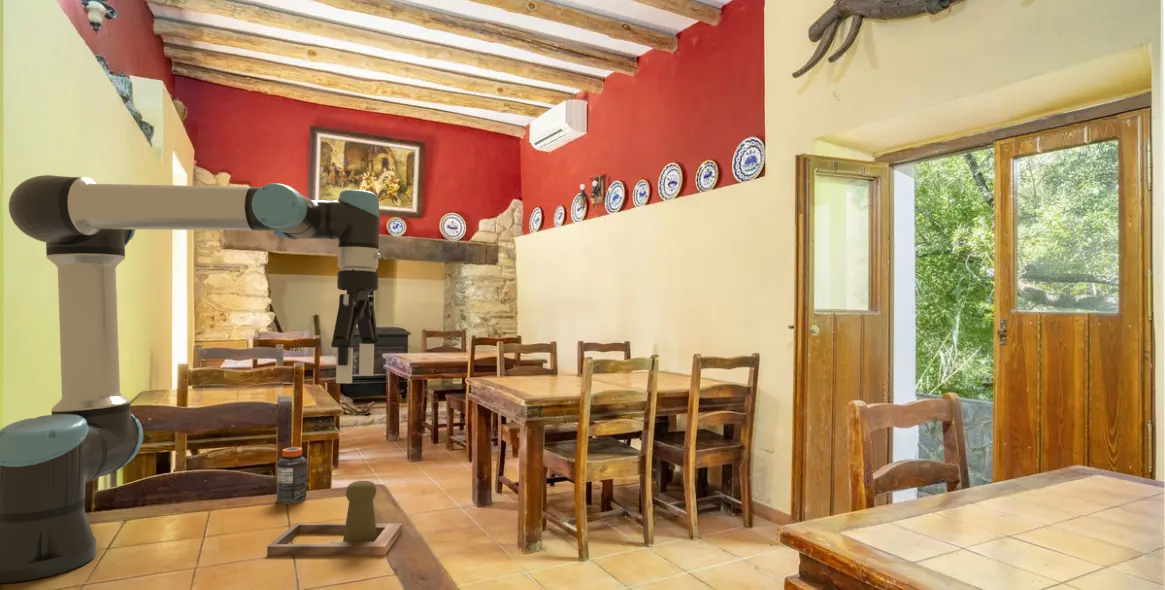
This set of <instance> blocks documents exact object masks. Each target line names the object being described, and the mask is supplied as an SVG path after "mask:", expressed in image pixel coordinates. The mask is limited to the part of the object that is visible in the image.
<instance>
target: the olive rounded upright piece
mask: <svg viewBox="0 0 1165 590" xmlns="http://www.w3.org/2000/svg"><path fill="white" fill-rule="evenodd" d="M345 495H346V499H347V500H348V505H347V506H348V507H347V512H346V513H347V514H346V520H345V523H346V525H345V532H344V533H343V540H342V542H374V541H375V540H376V539H377V538H378V535H377V532H376V517H375V508H374V499H375V497H376V495H377V486H376V484H375V483H374V481H371V480H356V481H354V482H351V483H349V484H348V485H347V487H346V491H345Z"/></svg>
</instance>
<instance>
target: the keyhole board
mask: <svg viewBox="0 0 1165 590" xmlns="http://www.w3.org/2000/svg"><path fill="white" fill-rule="evenodd" d="M375 523H376V522H375ZM345 525H346V522H344V523H342V522H341V523H340V522H339V523H336V522H334V523H333V522H332V523H331V522H330V523H329V522H327V523H326V522H325V523H324V522H316V523H315V522H313V523H311V522H306V523H305V522H296V523H294V524H292V526H291V527H289V528H288V529H287V530H285V531H284V532H283V533H282V534H281V535H280V536H278V537H277V538H276V539H275V540H273V541H272V542H271V543H269V545H267V546H266V548H267V550H266V556H386V554H387V553H388V551H389V550H390V549H391V547H392V546H393V544H394V543H395V542H396V540H397V539H398V538H399V536H400V535H401V534H402V532H403V523H401V522H400V523H399V522H398V523H394V522H393V523H390V522H389V523H387V522H386V523H385V522H383V523H381V522H379V523H376V532H377V539H376V540H375V541H374V542H343V541H330V542H329V543H327V544H326V543H325V544H321V543H317V544H313V543H310V544H306V543H303V544H302V543H299V544H298V543H297V544H293V543H290V544H288V543H289V542H290V541H292V540H293V539H294V538H295V537H297V536H298V535H299V534H344V532H345Z"/></svg>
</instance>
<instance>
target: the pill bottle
mask: <svg viewBox="0 0 1165 590" xmlns="http://www.w3.org/2000/svg"><path fill="white" fill-rule="evenodd" d="M281 454H282V455H281V456H282V457H281V458H280V459H279V460H278V461H277V462H276V463H277V464H276V465H277V467H276V469H277V471H276V474H277V475H276V502H278V503H280V504H296V503H299V502H303V501H304V500H305V499H306V498H307V475H308V474H307V470H308V467H307V466H308V465H307V462H308V461H307V458H305V457H304V456H303V448H302V447H295V446H294V447H287V448H283V449H282V453H281Z"/></svg>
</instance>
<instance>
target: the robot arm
mask: <svg viewBox="0 0 1165 590" xmlns="http://www.w3.org/2000/svg"><path fill="white" fill-rule="evenodd" d="M338 196H339V197H338V199H337V200H317V199H316V200H314V199H311V198H309V197H307V196H305V195H303V194H302V193H300V192H299V191H298V190H296V188H294V187H292V186H290V185H288V184H287V185H286V184H282V183H275V182H274V183H267V184H265V185H263V186H255V187H254V186H222V185H220V186H219V185H218V186H217V185H216V186H215V185H213V186H212V185H175V184H173V185H172V184H169V185H168V184H167V185H166V184H160V185H159V184H129V183H128V184H125V183H123V184H121V183H97V182H95V180H93V179H92V178H89V177H85V176H83V177H81V176H79V177H78V176H63V175H49V174H43V175H37V176H33V177H30V178H27V179H26V180H24V181H22V182H20V184H18V185H17V186H16V187H15V188H14V190H13V191H12V193H11V195H10V196H9V199H8V200H9V201H8V213H9V215H10V218H11V221H13V224H14V225H15V226H16V227H17V228H18V229H19V230H20V231H21V233H23V234H25V235H26V236H28V237H30V238H32V239H34V240H36V241H39V242H43V243H45V250H46V259H47V260H48V261H50V262H51V263H52V264H54V265H55V266H56V268H57V282H58V283H57V289H58V292H57V293H58V313H59V315H58V318H59V319H58V320H59V321H58V322H59V345H60V346H59V347H60V349H59V350H60V351H59V352H60V377H61V378H60V379H61V380H60V382H61V399H60V400H59V401H58V402H57V403H56V404H55V405H53V406H52V407H51V414H48V415H41V416H37V417H34V418H32V417H31V418H24V419H21V420H18V421H15V422H12V423H10V424H8V425H6V426H4V427H2V428H0V584H9V583H17V582H16V581H20V582H25V581H26V580H27V581H32V580H38V579H42V578H46V577H51V576H56V575H59V574H61V573H65V572H68V571H71V570H75V569H76V568H78V567H81V566H83V565H85V564H87V563H88V562H90V561H92V560H93V559H94V558H95V557H96V555H97V539H96V537H95V536H94V534H93V533H94V532H93V529H92V527H91V523H90V521H89V519H88V516H87V513H86V509H85V501H86V484H87V483H89V482H91V481H94V480H96V479H98V478H101V477H105V476H108V475H111V474H113V473H116V472H117V471H119V470H120V469H122V468H123V467H124V466H126V465H127V464H129V463H130V462H131V461H132V460H134V458H135V457H137V455H138V453H139V452H140V449H141V447H142V444H143V441H144V430H143V426H142V423H141V422H140V420H139V418H136V417H135V415H134V414H133V413H132V412H131V400H130V399H129V398H128V397H126V396H125V395H123V394H122V393H121V384H120V383H121V381H120V378H121V377H120V355H119V353H120V352H119V351H120V350H119V329H118V328H119V327H118V326H119V324H118V322H119V321H118V302H117V301H118V299H117V296H118V295H117V271H116V269H117V266H118V265H119V264H121V263H122V262H123V261H124V260H125V259H126V246H127V245H128V244H129V242H130V241H131V240H132V239H133V238H134V236H135V233H136V230H154V231H155V230H156V231H157V230H159V231H160V230H169V231H170V230H172V231H173V230H175V231H179V230H180V231H182V230H184V231H185V230H186V231H189V230H190V231H193V230H194V231H197V230H198V231H203V230H204V231H218V230H219V231H258V232H260V231H261V232H262V231H263V232H264V231H265V232H266V231H267V232H269V231H270V232H273V234H274V235H275V236H276V237H278V238H281V239H282V238H283V239H291V240H298V239H299V240H300V239H303V240H304V239H305V240H307V239H308V240H337V241H338V245H337V246H338V248H337V268H339V269H340V270H339V271H338V272H337V286H336V287H337V289H338V290H340V291H346V293H340V294H339V302H338V303H339V304H338V309H337V313H336V321H335V325H334V330H333V336H332V341H331V348H334V349H335V348H336V367H335V369H336V370H335V373H336V374H335V384H353V368H354V367H353V365H354V364H353V363H354V362H353V361H354V360H353V359H354V356H353V355H354V348H353V347H351V346H352V343H353V340H354V336H355V332H356V329H357V328H358V332H359V333H358V334H359V337H360V341H361V343H359V355H358V357H359V358H358V359H359V362H358V376H365V377H373V376H374V364H375V363H374V361H375V359H374V358H375V357H374V356H375V344H379V341H380V340H379V338H378V337H379V336H378V330H377V322H376V321H377V320H376V315H375V307H374V306H375V302H374V301H375V298H374V295H369V292H375V291H377V290H378V289H379V273H378V272H377V271H375V270H377V269H379V260H380V259H381V257H382V254H380V253H379V248H380V221H381V220H380V219H381V215H380V199H379V196H378V195H377V194H375V193H374V192H372V191H368V190H363V189H344V190H341V192H340V193H339V195H338Z"/></svg>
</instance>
